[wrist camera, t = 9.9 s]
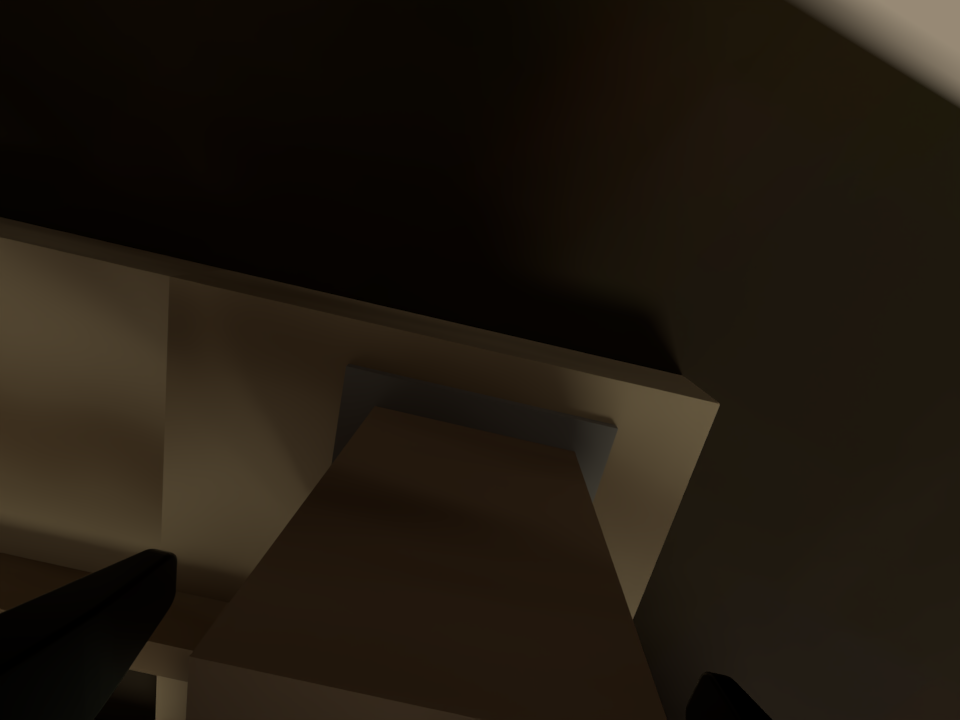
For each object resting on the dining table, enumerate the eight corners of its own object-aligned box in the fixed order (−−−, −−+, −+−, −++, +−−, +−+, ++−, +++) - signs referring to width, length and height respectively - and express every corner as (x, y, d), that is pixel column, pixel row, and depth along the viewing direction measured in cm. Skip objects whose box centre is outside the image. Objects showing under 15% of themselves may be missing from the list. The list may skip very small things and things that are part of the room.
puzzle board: (508, 845, 17) (509, 994, 13) (-50, 727, 16) (-189, 851, 13) (683, 375, 11) (756, 431, 8) (-128, 186, 11) (-392, 166, 8)
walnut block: (523, 611, 11) (549, 1028, 5) (345, 572, 11) (172, 950, 5) (574, 451, 10) (682, 764, 4) (374, 406, 10) (188, 657, 4)
